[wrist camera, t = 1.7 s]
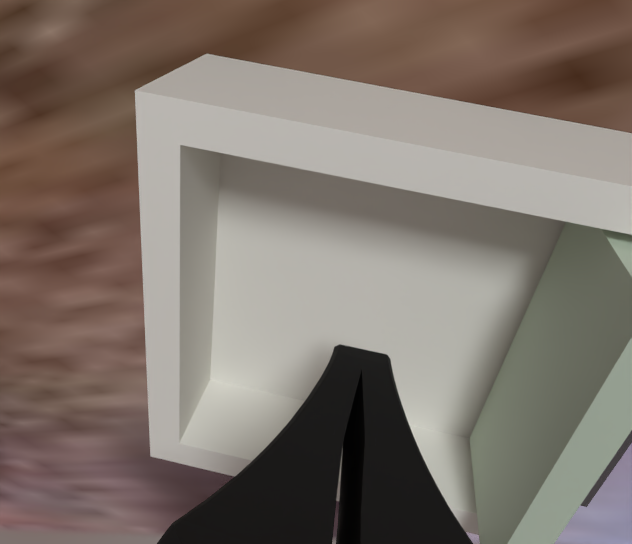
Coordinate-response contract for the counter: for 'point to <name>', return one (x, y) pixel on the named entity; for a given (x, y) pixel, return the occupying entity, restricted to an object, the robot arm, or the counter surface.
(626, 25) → the counter surface
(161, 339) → the white open tray
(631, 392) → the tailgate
